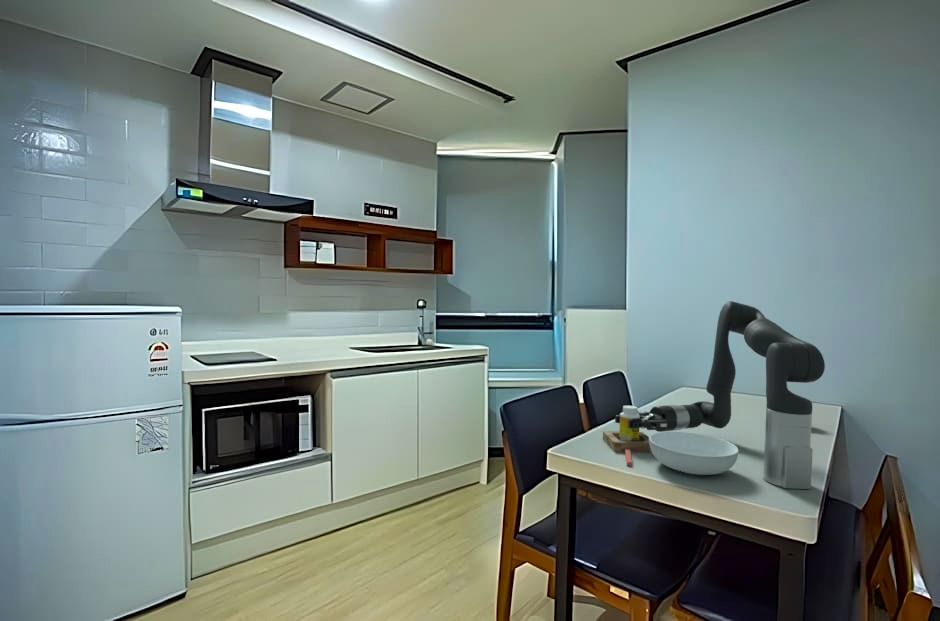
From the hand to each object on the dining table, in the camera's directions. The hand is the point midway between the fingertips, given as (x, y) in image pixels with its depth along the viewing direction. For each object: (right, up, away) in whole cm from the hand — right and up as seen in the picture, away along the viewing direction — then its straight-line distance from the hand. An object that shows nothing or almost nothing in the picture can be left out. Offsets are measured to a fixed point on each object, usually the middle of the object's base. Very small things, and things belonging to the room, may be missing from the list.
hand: (622, 421), depth 148 cm
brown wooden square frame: (+2, -7, +1) cm, 7 cm away
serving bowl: (+12, -8, -18) cm, 23 cm away
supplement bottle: (+2, -6, +1) cm, 7 cm away
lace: (-2, -7, -11) cm, 14 cm away
